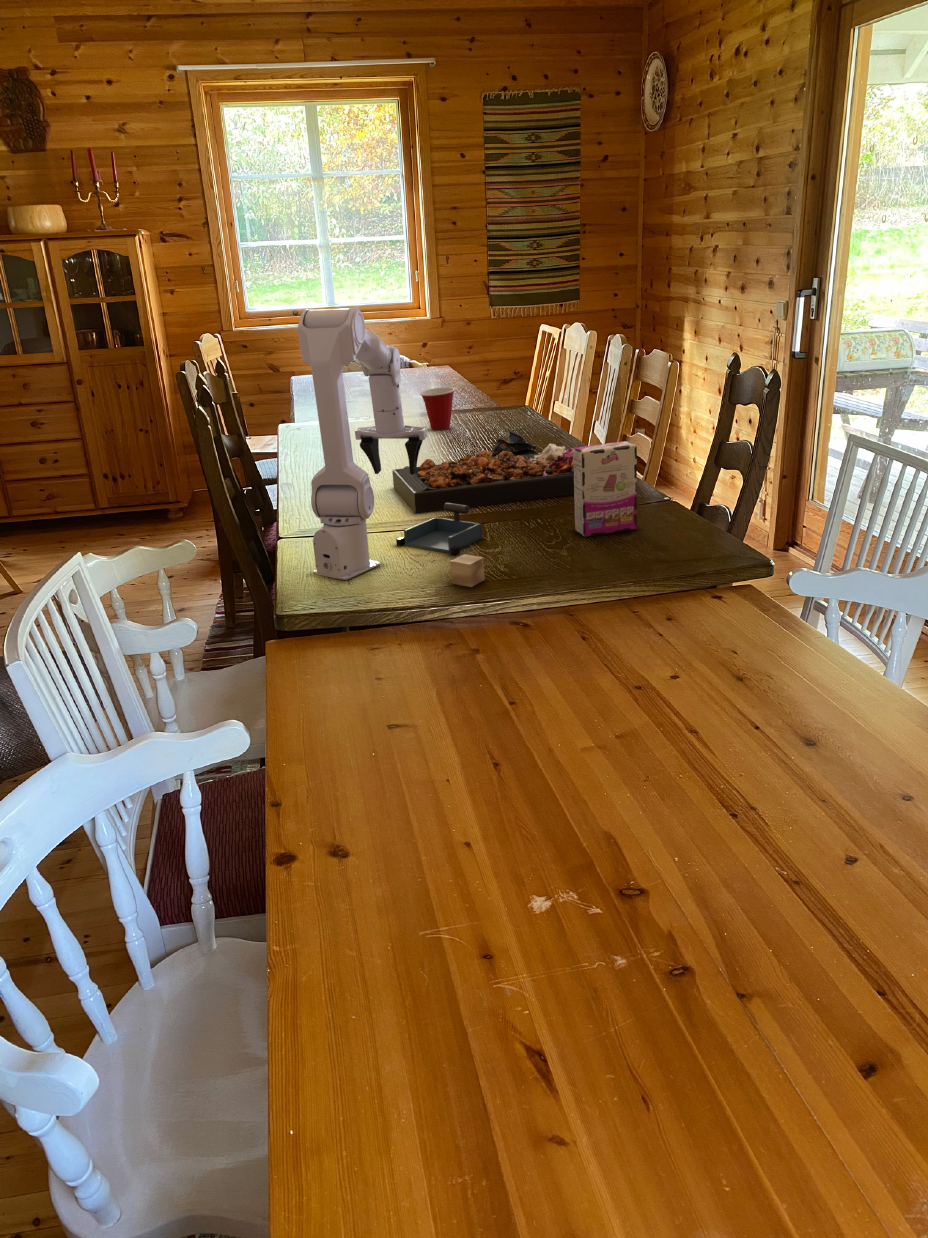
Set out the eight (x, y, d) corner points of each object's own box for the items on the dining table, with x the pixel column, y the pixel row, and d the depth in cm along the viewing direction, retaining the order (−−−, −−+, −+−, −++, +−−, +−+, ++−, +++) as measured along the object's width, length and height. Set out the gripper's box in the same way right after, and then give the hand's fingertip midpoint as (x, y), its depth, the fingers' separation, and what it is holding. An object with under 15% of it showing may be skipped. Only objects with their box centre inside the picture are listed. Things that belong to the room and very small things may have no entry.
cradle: (455, 556, 167) (454, 548, 166) (396, 545, 174) (396, 538, 174) (460, 553, 168) (459, 546, 167) (401, 543, 176) (401, 536, 175)
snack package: (496, 448, 254) (487, 456, 243) (499, 425, 251) (490, 432, 241) (538, 455, 252) (531, 463, 241) (541, 432, 249) (534, 439, 239)
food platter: (571, 467, 227) (571, 425, 223) (611, 489, 205) (612, 443, 201) (393, 488, 217) (390, 444, 213) (415, 513, 195) (412, 466, 191)
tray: (451, 553, 168) (449, 520, 166) (404, 545, 174) (402, 513, 172) (483, 538, 176) (482, 506, 174) (437, 531, 182) (435, 500, 180)
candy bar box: (625, 523, 180) (627, 439, 174) (637, 529, 176) (638, 444, 169) (573, 530, 177) (572, 446, 171) (583, 537, 173) (582, 451, 167)
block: (471, 587, 151) (469, 564, 149) (451, 583, 153) (450, 560, 152) (484, 580, 154) (483, 557, 152) (465, 576, 156) (464, 554, 155)
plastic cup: (417, 428, 288) (414, 389, 283) (448, 423, 292) (446, 385, 287) (430, 433, 279) (427, 393, 274) (462, 428, 283) (460, 389, 278)
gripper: (428, 400, 181) (435, 465, 188) (359, 401, 185) (368, 464, 192) (417, 411, 176) (425, 478, 182) (347, 412, 179) (357, 477, 186)
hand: (395, 472), depth 187 cm, fingers open, 7 cm apart
